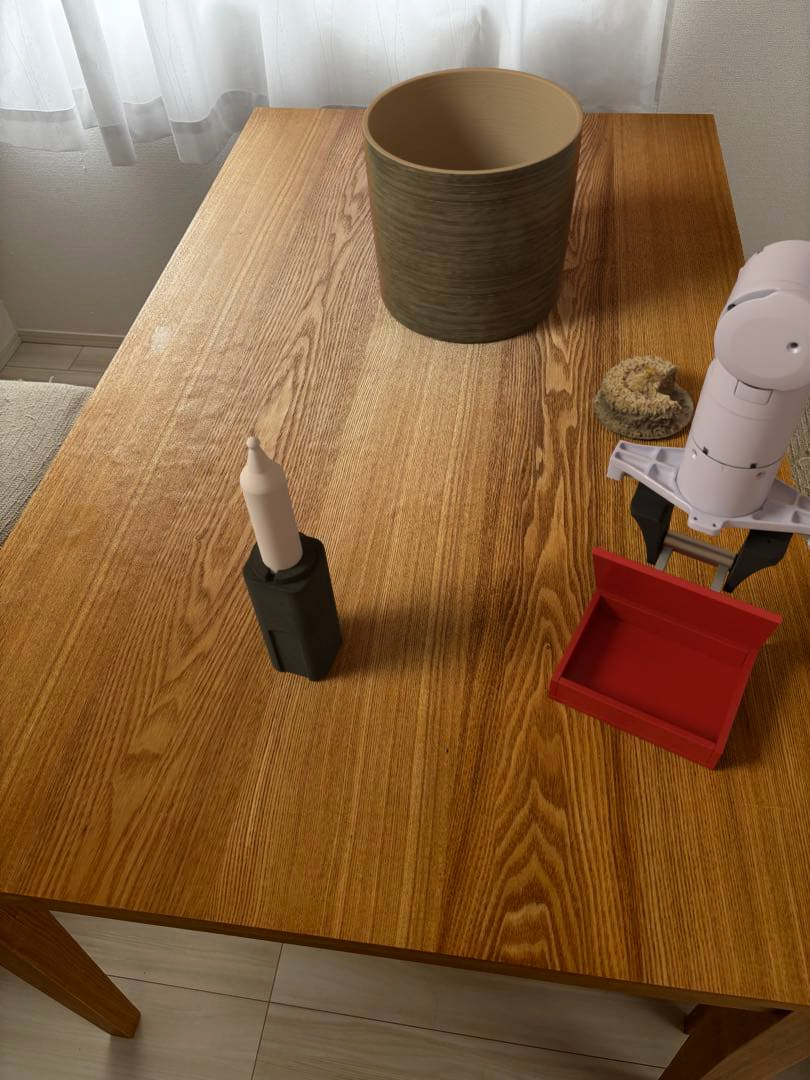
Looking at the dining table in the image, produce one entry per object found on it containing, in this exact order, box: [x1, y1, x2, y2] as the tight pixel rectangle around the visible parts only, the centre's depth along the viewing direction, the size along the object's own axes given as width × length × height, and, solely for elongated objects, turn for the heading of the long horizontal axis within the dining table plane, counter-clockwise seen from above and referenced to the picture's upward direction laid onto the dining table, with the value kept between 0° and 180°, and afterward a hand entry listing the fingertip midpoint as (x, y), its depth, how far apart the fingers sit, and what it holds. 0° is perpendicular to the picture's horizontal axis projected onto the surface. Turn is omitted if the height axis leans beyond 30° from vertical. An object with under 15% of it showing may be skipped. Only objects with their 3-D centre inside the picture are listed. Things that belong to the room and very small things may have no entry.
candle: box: [239, 435, 344, 682], centre depth 63 cm, size 5×5×25 cm
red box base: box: [547, 587, 759, 771], centre depth 68 cm, size 10×13×3 cm
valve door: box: [591, 528, 784, 651], centre depth 65 cm, size 10×13×4 cm
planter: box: [361, 66, 585, 344], centre depth 95 cm, size 22×22×20 cm
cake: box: [592, 354, 695, 440], centre depth 87 cm, size 10×10×5 cm
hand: (691, 568), depth 63 cm, fingers closed on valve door, 5 cm apart
